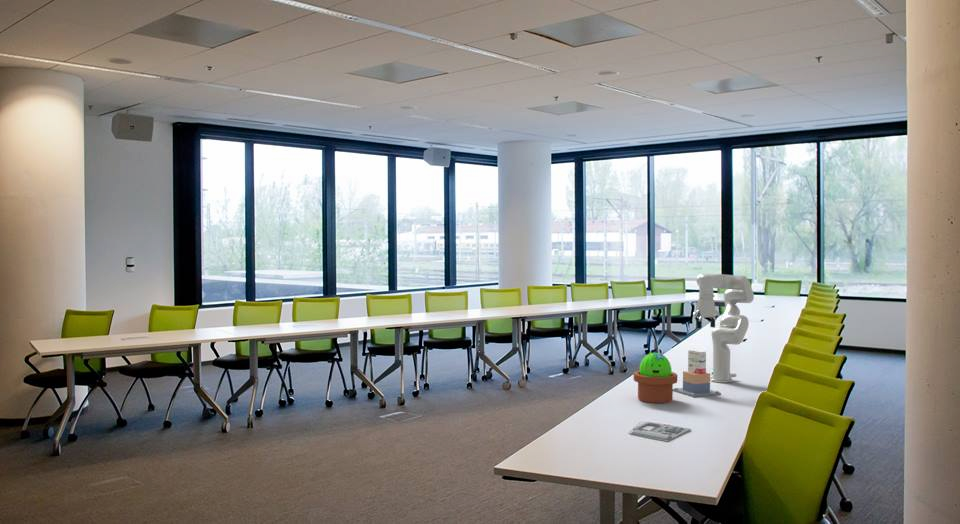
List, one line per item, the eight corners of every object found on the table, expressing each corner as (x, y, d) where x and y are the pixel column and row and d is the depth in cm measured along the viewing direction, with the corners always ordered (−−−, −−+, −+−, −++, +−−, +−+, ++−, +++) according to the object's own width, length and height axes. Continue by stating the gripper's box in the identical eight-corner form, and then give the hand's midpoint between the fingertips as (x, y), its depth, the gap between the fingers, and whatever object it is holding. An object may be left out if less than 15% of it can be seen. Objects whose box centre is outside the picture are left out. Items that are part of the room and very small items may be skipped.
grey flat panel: (667, 437, 299) (623, 429, 311) (667, 444, 299) (623, 435, 311) (691, 425, 317) (648, 418, 329) (691, 431, 317) (648, 424, 329)
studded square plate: (698, 388, 406) (699, 368, 406) (721, 394, 390) (721, 374, 389) (672, 390, 399) (672, 370, 399) (693, 397, 383) (693, 376, 382)
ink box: (706, 373, 392) (706, 351, 392) (700, 374, 389) (700, 352, 389) (693, 370, 399) (693, 349, 399) (687, 371, 396) (687, 350, 396)
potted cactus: (633, 394, 390) (633, 347, 389) (675, 396, 386) (676, 349, 385) (633, 403, 369) (633, 354, 368) (678, 405, 364) (678, 355, 363)
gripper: (714, 296, 415) (713, 326, 416) (689, 297, 409) (688, 327, 409) (723, 297, 408) (722, 327, 409) (698, 298, 402) (697, 329, 402)
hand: (705, 327), depth 409 cm, fingers open, 9 cm apart
